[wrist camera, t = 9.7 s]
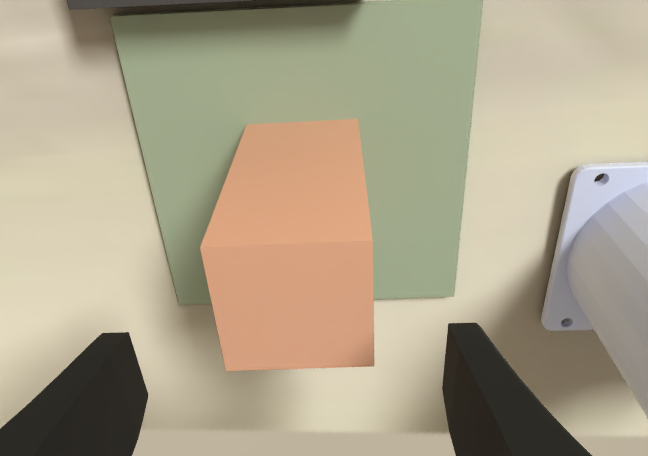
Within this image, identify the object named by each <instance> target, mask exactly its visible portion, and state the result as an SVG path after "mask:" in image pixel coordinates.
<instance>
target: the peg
mask: <svg viewBox="0 0 648 456" xmlns="http://www.w3.org/2000/svg"><path fill="white" fill-rule="evenodd" d="M200 250H201V254H202V259H203V264H204V269H205V273H206V278H207V283H208V288H209V292H210V297H211V302H212V307H213V311H214V316H215V321H216V326H217V330H218V335H219V340H220V345H221V349H222V354H223V359H224V363H225V368H226V371H240V370H272V369H303V368H335V367H366V366H374V298H373V238H372V229H371V221H370V213H369V205H368V196H367V188H366V180H365V171H364V163H363V155H362V147H361V138H360V130H359V122H358V119H346V120H326V121H306V122H286V123H266V124H246V127H245V130H244V132H243V135H242V138H241V140H240V143H239V146H238V148H237V151H236V154H235V156H234V159H233V162H232V164H231V167H230V170H229V172H228V175H227V177H226V180H225V183H224V185H223V188H222V191H221V193H220V196H219V199H218V201H217V204H216V207H215V209H214V212H213V215H212V217H211V220H210V223H209V225H208V228H207V231H206V233H205V236H204V239H203V241H202V244H201V247H200Z"/></svg>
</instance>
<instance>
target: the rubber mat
mask: <svg viewBox="0 0 648 456" xmlns="http://www.w3.org/2000/svg"><path fill="white" fill-rule="evenodd" d="M482 5H483V0H392V1H372V2H352V3H332V4H312V5H292V6H271V7H251V8H231V9H211V10H191V11H171V12H151V13H130V14H113V15H112V16H110V21H111V25H112V29H113V33H114V37H115V42H116V46H117V50H118V54H119V58H120V62H121V66H122V71H123V75H124V79H125V83H126V87H127V91H128V95H129V100H130V104H131V108H132V112H133V116H134V120H135V124H136V129H137V133H138V137H139V141H140V145H141V149H142V153H143V158H144V162H145V166H146V170H147V174H148V178H149V182H150V187H151V191H152V195H153V199H154V203H155V207H156V211H157V216H158V220H159V224H160V228H161V232H162V236H163V240H164V245H165V249H166V253H167V257H168V261H169V265H170V270H171V274H172V278H173V282H174V286H175V290H176V294H177V299H178V303H179V305H194V304H212V302H211V297H210V292H209V288H208V283H207V278H206V273H205V269H204V264H203V259H202V254H201V250H200V247H201V244H202V241H203V239H204V236H205V233H206V231H207V228H208V225H209V223H210V220H211V217H212V215H213V212H214V209H215V207H216V204H217V201H218V199H219V196H220V193H221V191H222V188H223V185H224V183H225V180H226V177H227V175H228V172H229V170H230V167H231V164H232V162H233V159H234V156H235V154H236V151H237V148H238V146H239V143H240V140H241V138H242V135H243V132H244V130H245V127H246V124H266V123H286V122H306V121H326V120H346V119H358V122H359V130H360V138H361V147H362V155H363V163H364V171H365V180H366V188H367V196H368V205H369V213H370V221H371V229H372V238H373V298H374V299H393V298H426V297H454V291H455V281H456V271H457V261H458V250H459V240H460V230H461V220H462V210H463V199H464V189H465V179H466V169H467V159H468V148H469V138H470V128H471V118H472V107H473V97H474V87H475V77H476V67H477V56H478V46H479V36H480V26H481V16H482Z"/></svg>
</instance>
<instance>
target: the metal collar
mask: <svg viewBox="0 0 648 456" xmlns="http://www.w3.org/2000/svg"><path fill="white" fill-rule="evenodd" d="M231 1H251V0H67V3H68V7H69V10H72V9H91V8H111V7H131V6H151V5H171V4H191V3H211V2H231Z"/></svg>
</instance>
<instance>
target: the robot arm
mask: <svg viewBox="0 0 648 456" xmlns="http://www.w3.org/2000/svg"><path fill="white" fill-rule="evenodd" d="M602 173H604V176H603V178H602V179H601V180H599V181H594V180H595V178H596V176H598V175H599V174H602ZM566 318H568V319H567V320H566V321H562V320H564V319H566ZM541 322H542V324H543V326H544V328H545V329H547V330H549V331H571V330H594V331H595V332H596V334H597V336H598V337H599V339H600V341H601V342H602V344H603V345H604V347H605V349H606V350H607V352H608V354H609V355H610V357H611V359H612V360H613V362H614V364H615V365H616V367H617V368H618V370H619V372H620V373H621V375H622V377H623V378H624V380H625V382H626V383H627V385H628V387H629V388H630V390H631V391H632V393H633V395H634V396H635V398H636V400H637V401H638V403H639V405H640V406H641V408H642V410H643V411H644V413H645V414H646V416H647V418H648V162H628V163H602V164H585V165H581V166H579V167H577V168H576V169H575V170H574V171H573V173H572V175H571V178H570V183H569V188H568V193H567V197H566V202H565V207H564V212H563V216H562V221H561V226H560V231H559V235H558V240H557V245H556V250H555V254H554V259H553V264H552V269H551V273H550V278H549V283H548V288H547V292H546V297H545V302H544V307H543V311H542V316H541ZM442 389H443V396H444V402H445V408H446V415H447V420H448V426H449V432H450V436H451V439H452V443H453V446H454V450H455V454H456V456H592V455H591V454H590V453H589V452H587V450H586V449H585V448H584V447H583V446H582V445H581V444H579V442H578V441H577V440H575V438H574V437H573V436H572V435H571V434H570V433H569V432H568V431H567V430H566V429H565V428H564V427H563V426H562V425H561V424H560V423H559V422H558V421H557V420H556V419H555V418H554V417H553V416H552V415H551V413H550V412H549V411H548V410H547V409H546V408H545V407H544V406H543V405H542V403H541V402H540V401H539V400H538V399H537V398H536V397H535V395H534V394H533V393H532V392H531V391H530V390H529V388H528V387H527V386H526V385H525V384H524V382H523V381H522V380H521V379H520V378H519V377H518V375H517V374H516V373H515V372H514V370H513V369H512V368H511V367H510V365H509V364H508V363H507V362H506V360H505V359H504V358H503V356H502V355H501V354H500V353H499V351H498V350H497V349H496V347H495V346H494V345H493V343H492V342H491V340H490V339H489V338H488V336H487V335H486V334H485V332H484V331H483V329H482V328H481V327H480V326H479V325H478V324H477V323H449V324H448V334H447V345H446V355H445V366H444V376H443V387H442ZM147 399H148V392H147V389H146V386H145V383H144V380H143V376H142V373H141V370H140V367H139V364H138V360H137V357H136V354H135V351H134V348H133V345H132V341H131V338H130V335H129V332H125V333H102V334H101V335H100V336H99V337H98V338H97V339H96V340H94V341H93V342H92V343H91V344H90V345H89V346H88V347H87V348H86V349H85V350H84V351H83V352H82V353H81V354H80V355H79V356H78V357H77V358H76V359H75V360H74V361H73V362H72V363H71V364H70V365H69V366H68V367H67V368H66V369H65V370H64V371H63V372H62V373H61V374H60V375H59V376H57V377H56V378H55V379H54V380H53V381H52V382H51V383H50V384H49V385H48V386H47V387H46V388H45V389H44V390H43V391H42V392H41V393H40V394H39V395H38V396H36V397H35V398H34V399H33V400H32V401H31V402H30V403H29V404H28V405H27V406H26V407H25V408H23V409H22V410H21V411H20V412H19V413H18V414H17V415H15V416H14V417H13V418H12V419H11V420H10V421H9V422H8V423H6V424H5V425H4V426H3V427H2V428H1V429H0V456H132V454H133V451H134V448H135V446H136V443H137V440H138V437H139V433H140V429H141V425H142V421H143V417H144V412H145V408H146V404H147Z"/></svg>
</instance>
